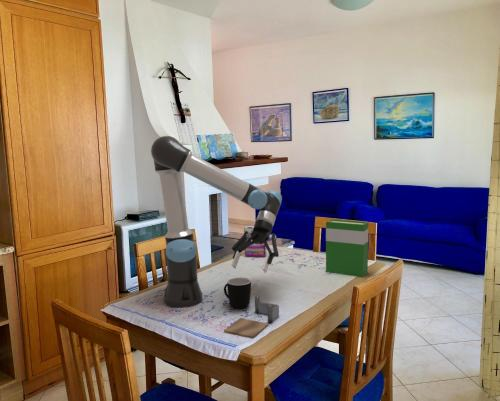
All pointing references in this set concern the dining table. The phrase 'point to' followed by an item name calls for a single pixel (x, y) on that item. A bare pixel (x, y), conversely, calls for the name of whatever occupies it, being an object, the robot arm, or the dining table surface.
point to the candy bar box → (254, 246)
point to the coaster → (246, 328)
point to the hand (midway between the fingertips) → (248, 268)
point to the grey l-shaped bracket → (267, 309)
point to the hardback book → (347, 247)
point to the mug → (238, 292)
